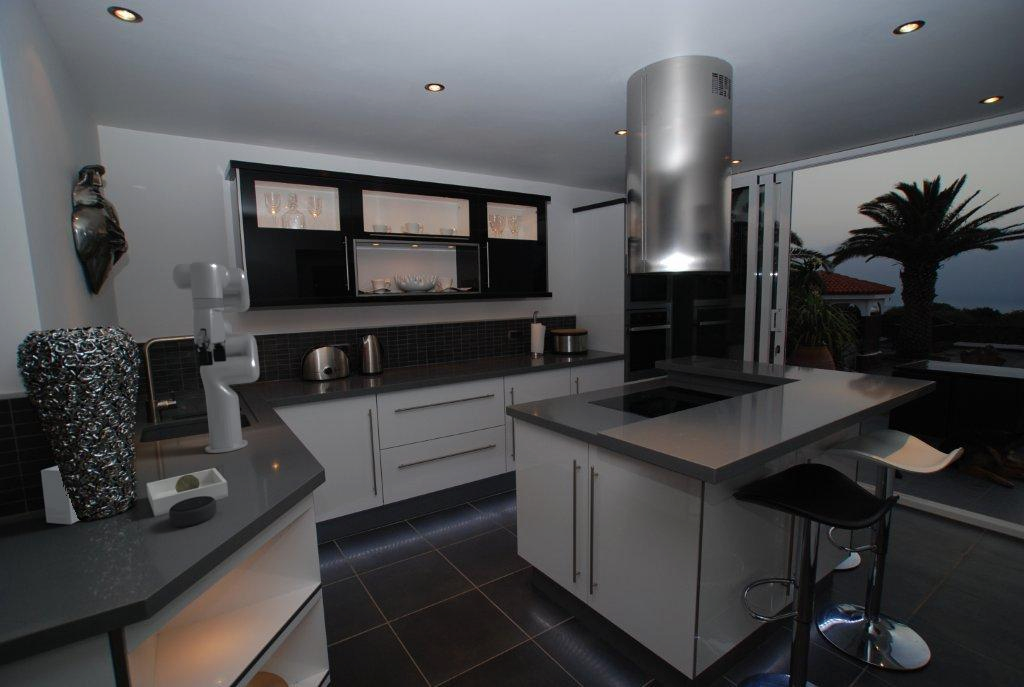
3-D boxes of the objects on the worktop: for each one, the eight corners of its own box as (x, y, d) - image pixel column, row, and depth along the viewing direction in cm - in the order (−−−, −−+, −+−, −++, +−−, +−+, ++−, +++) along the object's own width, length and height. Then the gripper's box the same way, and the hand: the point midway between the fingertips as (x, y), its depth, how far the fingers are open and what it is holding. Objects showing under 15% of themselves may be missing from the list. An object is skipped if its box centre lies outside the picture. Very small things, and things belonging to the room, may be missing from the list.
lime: (203, 491, 120) (201, 472, 119) (184, 499, 115) (182, 479, 115) (192, 489, 121) (190, 471, 121) (172, 496, 117) (170, 477, 117)
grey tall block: (70, 525, 105) (64, 471, 104) (45, 523, 106) (39, 469, 105) (105, 510, 112) (99, 460, 111) (81, 509, 113) (75, 459, 112)
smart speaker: (199, 528, 101) (198, 510, 101) (160, 529, 101) (158, 512, 101) (225, 510, 110) (224, 494, 110) (189, 511, 110) (187, 495, 110)
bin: (148, 498, 119) (146, 483, 118) (216, 481, 129) (214, 467, 128) (154, 516, 108) (152, 500, 107) (228, 496, 118) (226, 481, 117)
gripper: (206, 305, 141) (211, 361, 143) (179, 305, 125) (185, 368, 126) (233, 304, 143) (238, 359, 145) (210, 304, 126) (215, 366, 128)
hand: (213, 363), depth 135 cm, fingers open, 9 cm apart
